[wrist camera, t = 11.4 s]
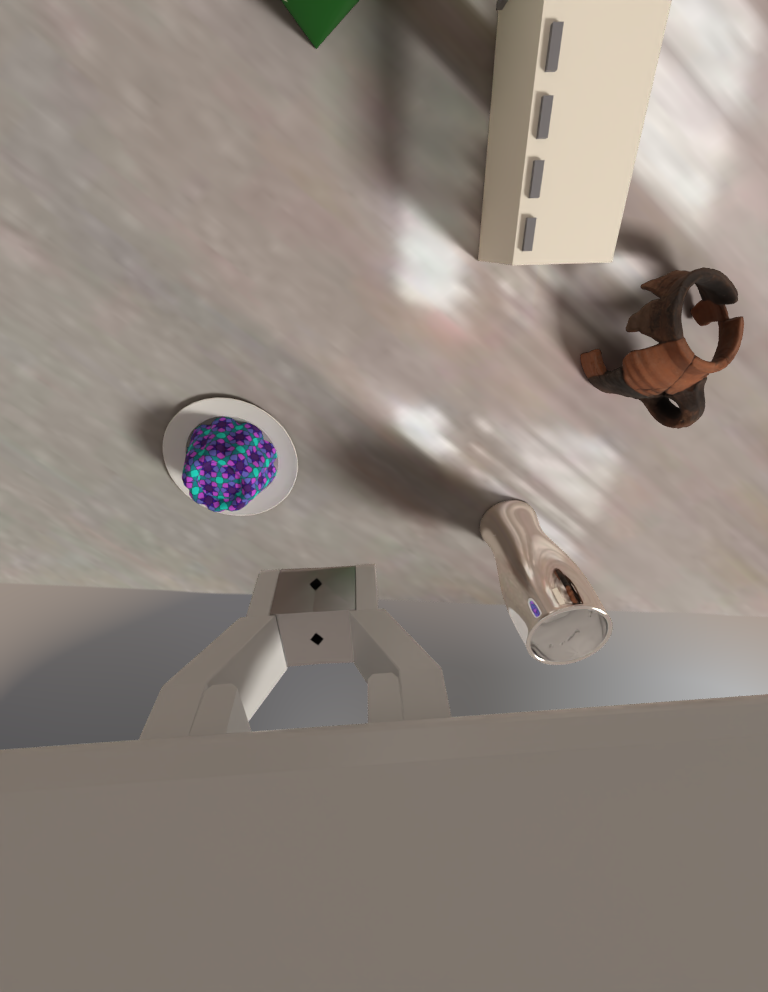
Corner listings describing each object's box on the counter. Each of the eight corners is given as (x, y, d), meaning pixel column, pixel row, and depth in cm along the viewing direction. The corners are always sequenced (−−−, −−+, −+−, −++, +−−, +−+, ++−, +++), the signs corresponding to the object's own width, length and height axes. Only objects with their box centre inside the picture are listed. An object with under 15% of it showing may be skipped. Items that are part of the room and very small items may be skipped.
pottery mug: (555, 330, 35) (645, 290, 27) (629, 280, 37) (733, 230, 29) (611, 452, 38) (707, 448, 30) (676, 398, 40) (782, 382, 32)
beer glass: (532, 485, 42) (609, 592, 29) (545, 535, 45) (620, 650, 33) (466, 510, 43) (514, 623, 30) (485, 557, 46) (534, 676, 34)
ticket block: (473, 260, 31) (508, 265, 24) (492, 8, 24) (548, -89, 17) (556, 258, 31) (614, 262, 24) (598, 7, 25) (695, -89, 18)
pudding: (157, 386, 35) (128, 406, 30) (302, 404, 36) (294, 426, 32) (173, 505, 41) (150, 537, 36) (296, 516, 43) (289, 548, 38)
